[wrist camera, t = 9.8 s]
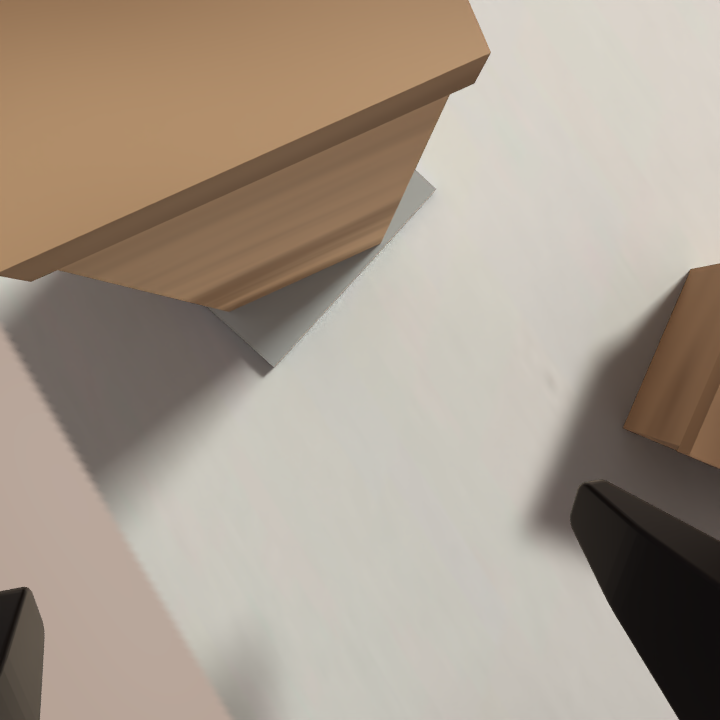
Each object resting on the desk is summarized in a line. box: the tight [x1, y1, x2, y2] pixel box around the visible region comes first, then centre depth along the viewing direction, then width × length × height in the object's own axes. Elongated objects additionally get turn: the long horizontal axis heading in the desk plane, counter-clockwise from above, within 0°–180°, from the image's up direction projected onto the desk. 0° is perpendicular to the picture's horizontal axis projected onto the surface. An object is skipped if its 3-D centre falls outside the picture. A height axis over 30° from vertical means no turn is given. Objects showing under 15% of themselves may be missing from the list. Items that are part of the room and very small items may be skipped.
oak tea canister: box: [0, 0, 491, 312], centre depth 13 cm, size 6×6×14 cm
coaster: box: [206, 170, 436, 367], centre depth 20 cm, size 8×8×1 cm
